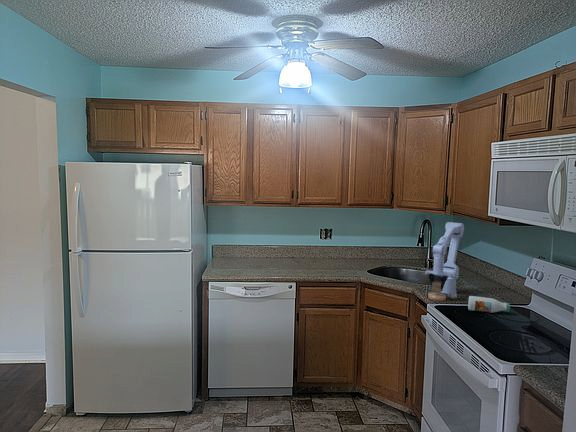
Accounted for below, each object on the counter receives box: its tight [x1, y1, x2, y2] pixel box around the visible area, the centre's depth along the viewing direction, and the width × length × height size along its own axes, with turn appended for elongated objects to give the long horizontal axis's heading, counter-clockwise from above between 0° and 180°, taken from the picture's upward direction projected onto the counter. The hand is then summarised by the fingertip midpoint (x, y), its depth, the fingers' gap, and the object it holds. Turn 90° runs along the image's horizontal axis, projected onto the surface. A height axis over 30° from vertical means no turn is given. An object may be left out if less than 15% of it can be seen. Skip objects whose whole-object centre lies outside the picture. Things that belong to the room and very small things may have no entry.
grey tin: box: [447, 292, 458, 300], centre depth 253 cm, size 5×5×3 cm
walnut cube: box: [431, 280, 443, 293], centre depth 250 cm, size 5×5×5 cm
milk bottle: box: [467, 295, 511, 314], centre depth 229 cm, size 8×8×20 cm
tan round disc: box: [427, 291, 447, 302], centre depth 251 cm, size 10×10×2 cm
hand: (437, 287), depth 251 cm, fingers closed on walnut cube, 5 cm apart
